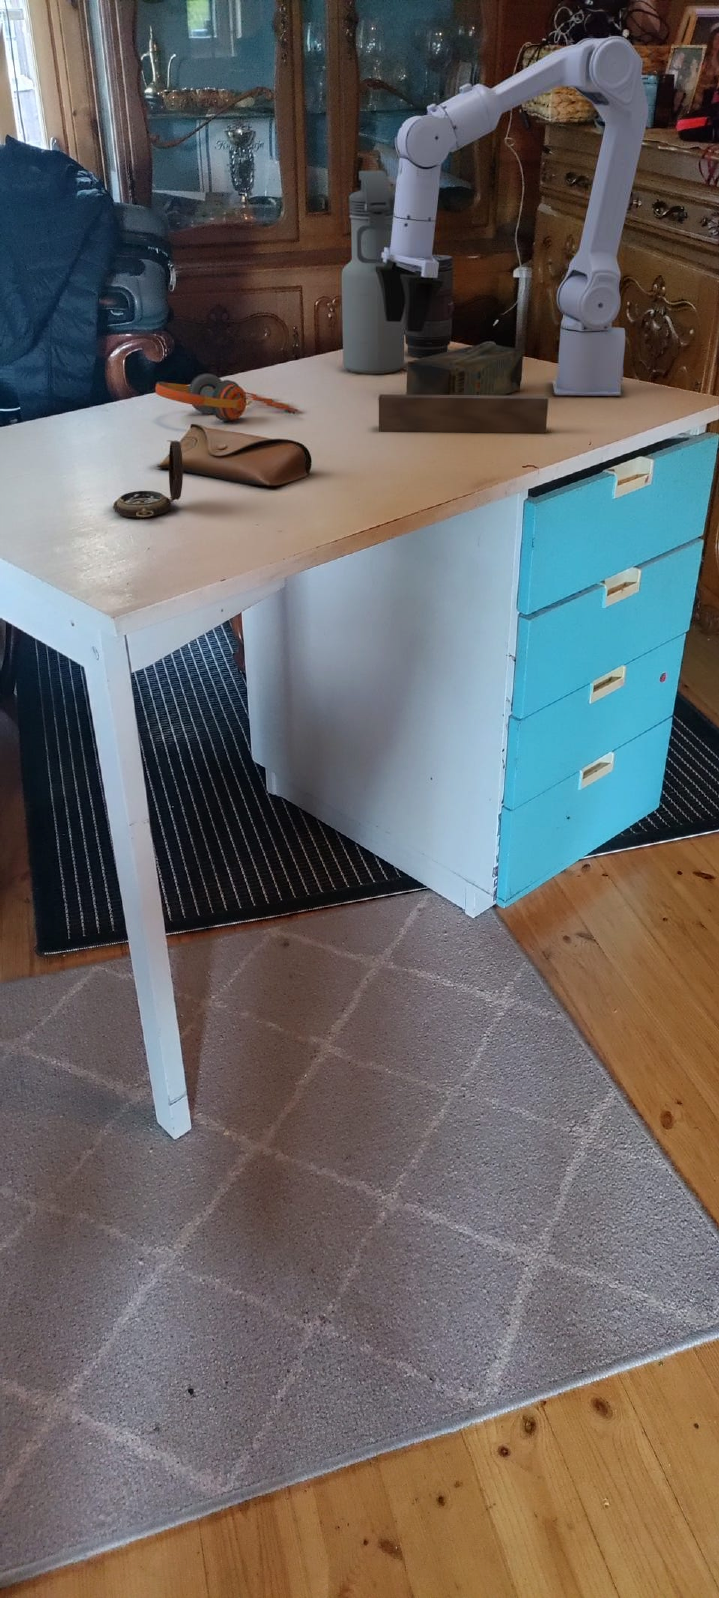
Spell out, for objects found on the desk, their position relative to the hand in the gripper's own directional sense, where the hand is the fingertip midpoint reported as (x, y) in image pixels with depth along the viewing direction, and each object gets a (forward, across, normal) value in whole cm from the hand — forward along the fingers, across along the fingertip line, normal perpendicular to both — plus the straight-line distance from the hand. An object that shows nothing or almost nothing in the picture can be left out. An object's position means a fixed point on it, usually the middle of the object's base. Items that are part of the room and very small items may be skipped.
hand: (403, 326), depth 166 cm
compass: (+15, +36, -44) cm, 58 cm away
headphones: (+13, -3, -24) cm, 28 cm away
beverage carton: (+10, +2, +10) cm, 14 cm away
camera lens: (+9, -30, +18) cm, 36 cm away
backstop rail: (+10, +18, +2) cm, 21 cm away
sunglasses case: (+13, +24, -31) cm, 42 cm away
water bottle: (+10, -22, +5) cm, 25 cm away
